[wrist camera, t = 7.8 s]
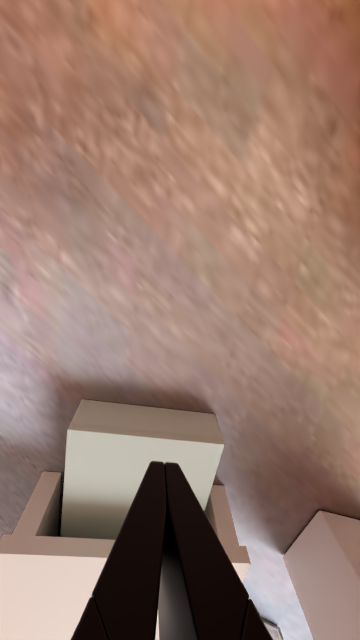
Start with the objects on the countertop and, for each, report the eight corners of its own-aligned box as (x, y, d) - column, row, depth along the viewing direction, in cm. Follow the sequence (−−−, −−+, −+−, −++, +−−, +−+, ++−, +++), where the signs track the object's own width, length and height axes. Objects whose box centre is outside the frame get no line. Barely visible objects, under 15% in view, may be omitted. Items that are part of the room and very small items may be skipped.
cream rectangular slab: (81, 399, 18) (67, 429, 15) (215, 414, 20) (224, 444, 17) (69, 546, 23) (57, 590, 20) (177, 551, 24) (179, 592, 22)
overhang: (36, 470, 20) (-7, 553, 15) (229, 486, 22) (250, 563, 17) (33, 560, 23) (-3, 653, 18) (202, 567, 25) (212, 652, 20)
